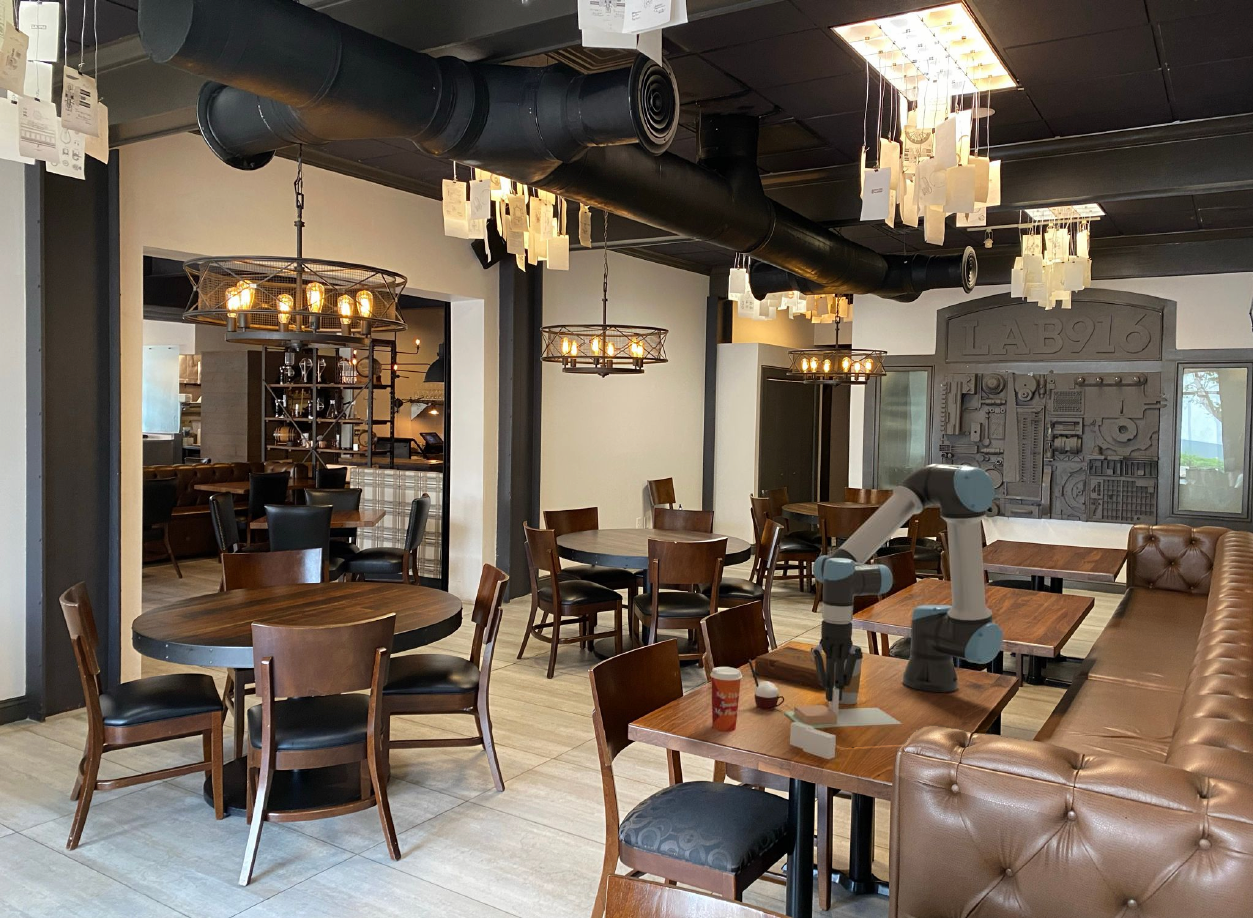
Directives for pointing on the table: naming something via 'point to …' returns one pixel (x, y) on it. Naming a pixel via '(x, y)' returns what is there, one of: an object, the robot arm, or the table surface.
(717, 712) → the paper cup
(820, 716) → the tile
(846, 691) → the coffee cup
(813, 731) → the white stepped block
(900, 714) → the table surface
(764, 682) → the cocoa
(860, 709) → the mat
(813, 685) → the diary
